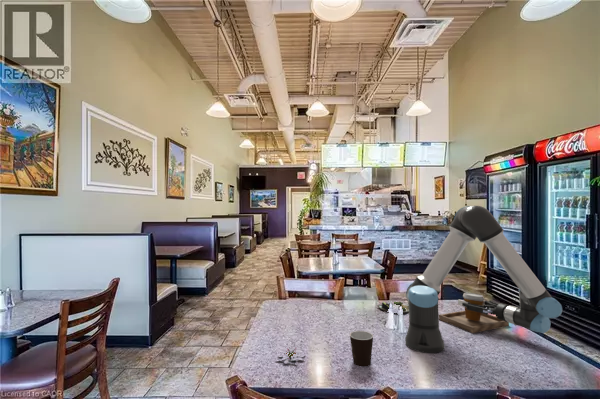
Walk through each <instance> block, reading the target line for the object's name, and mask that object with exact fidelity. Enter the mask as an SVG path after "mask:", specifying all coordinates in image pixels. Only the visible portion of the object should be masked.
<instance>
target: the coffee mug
mask: <svg viewBox="0 0 600 399" xmlns="http://www.w3.org/2000/svg"><path fill="white" fill-rule="evenodd" d="M349 338H350V339H349V340H350V348H351V354H352V363H353V362H354V363H353V364H354V365H355V366H357V367H360V366H361V367H360V368H364V367H369V366H370V365H372V364H371V363H372V356H373V355H372V353H373V341H374V334H372V332H370V331H365V330H354V331H352V332H350V333H349Z"/></svg>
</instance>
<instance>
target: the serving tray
mask: <svg viewBox="0 0 600 399" xmlns="http://www.w3.org/2000/svg"><path fill="white" fill-rule="evenodd" d="M439 321H441V322H444V323H446V324H449V325H451V326H454V327H456V328H459V329H462V330H463V331H466V332H469V333H471V334H477V333H480V332H481V333H482V332H486V331H491V330H495V329H500V328H505V327H509V326H510V323H509V322H505V321H502V320H499V319H498V318H497V317H496V315H492V314H490V313H488V315H486V314H483V313H481V317H480V321H474V320H469V319H467V318H466V316H465V310H459V311H455V312H447V313H441V314H439Z"/></svg>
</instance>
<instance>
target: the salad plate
mask: <svg viewBox="0 0 600 399" xmlns="http://www.w3.org/2000/svg"><path fill="white" fill-rule="evenodd" d="M393 302H394V304H396V305H400V306H402V309H403V314H402V315H405V314H409V305H405V304H404V302H401V301H400V300H399V301H397V302H396V301H393ZM388 303H389V302H384V301H382V302H381V304H378V305H376V307H378V308H379V310H380V309H381V310H380V311H382V310H383V311H382V312H384V311H386V312H385V313H388V312H387V311H388V309H389V304H388ZM405 308H406V309H405Z"/></svg>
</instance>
